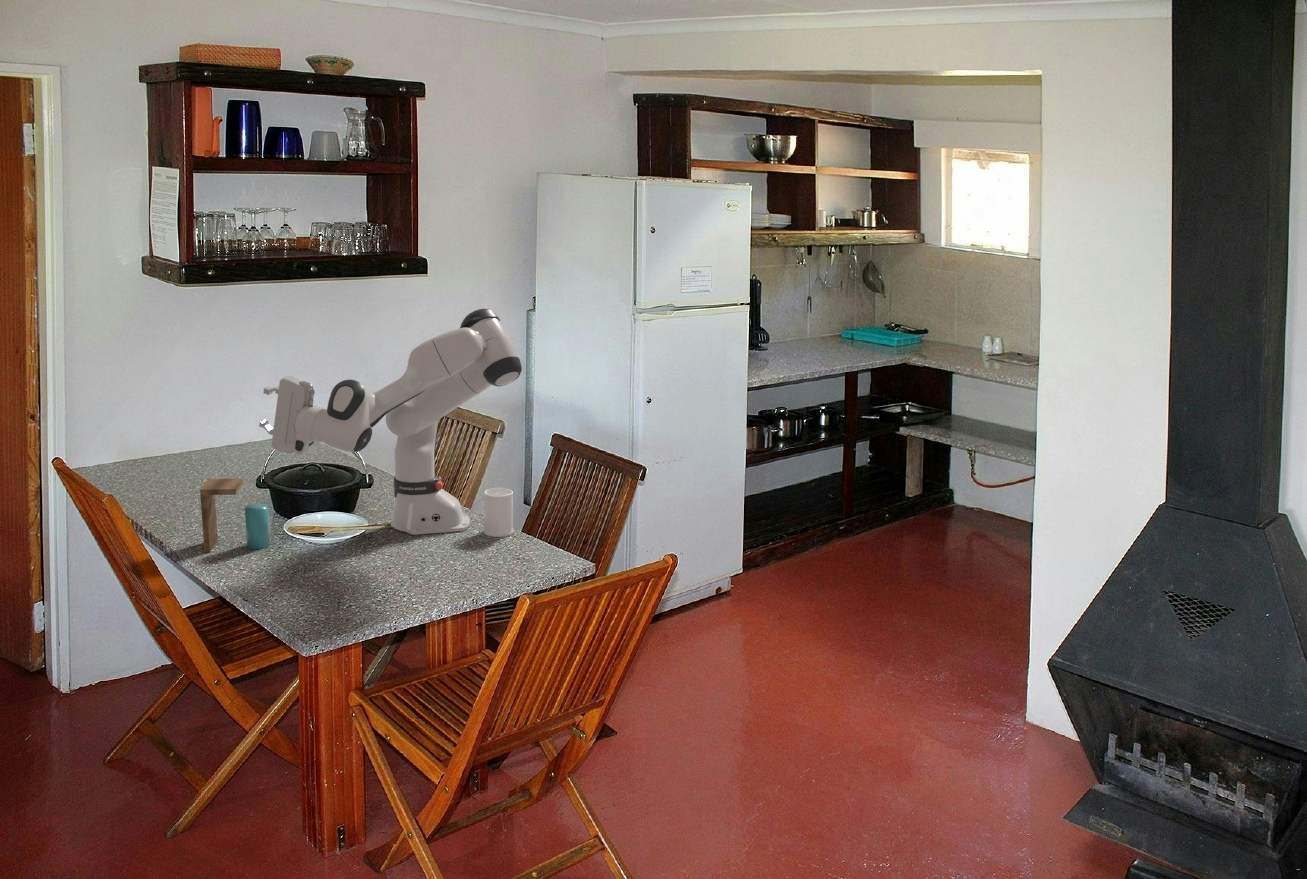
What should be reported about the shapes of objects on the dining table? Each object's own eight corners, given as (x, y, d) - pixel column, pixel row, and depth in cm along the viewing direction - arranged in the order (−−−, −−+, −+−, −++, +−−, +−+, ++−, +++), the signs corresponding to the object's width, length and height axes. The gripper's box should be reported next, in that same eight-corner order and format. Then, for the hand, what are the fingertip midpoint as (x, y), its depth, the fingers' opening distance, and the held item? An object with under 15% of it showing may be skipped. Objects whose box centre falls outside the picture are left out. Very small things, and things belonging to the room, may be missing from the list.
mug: (472, 537, 330) (472, 497, 327) (471, 527, 339) (471, 488, 335) (514, 536, 332) (514, 496, 329) (512, 526, 341) (512, 487, 338)
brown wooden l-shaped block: (246, 539, 323) (242, 478, 319) (239, 551, 314) (235, 489, 310) (212, 540, 322) (208, 478, 318) (204, 552, 313) (199, 489, 308)
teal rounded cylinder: (271, 541, 323) (269, 503, 320) (268, 549, 317) (265, 510, 314) (249, 541, 322) (247, 503, 319) (244, 549, 316) (242, 510, 313)
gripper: (309, 388, 299) (260, 372, 302) (298, 460, 306) (251, 444, 309) (321, 382, 305) (274, 366, 307) (311, 453, 312) (264, 437, 314)
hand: (262, 406), depth 308 cm, fingers open, 8 cm apart
